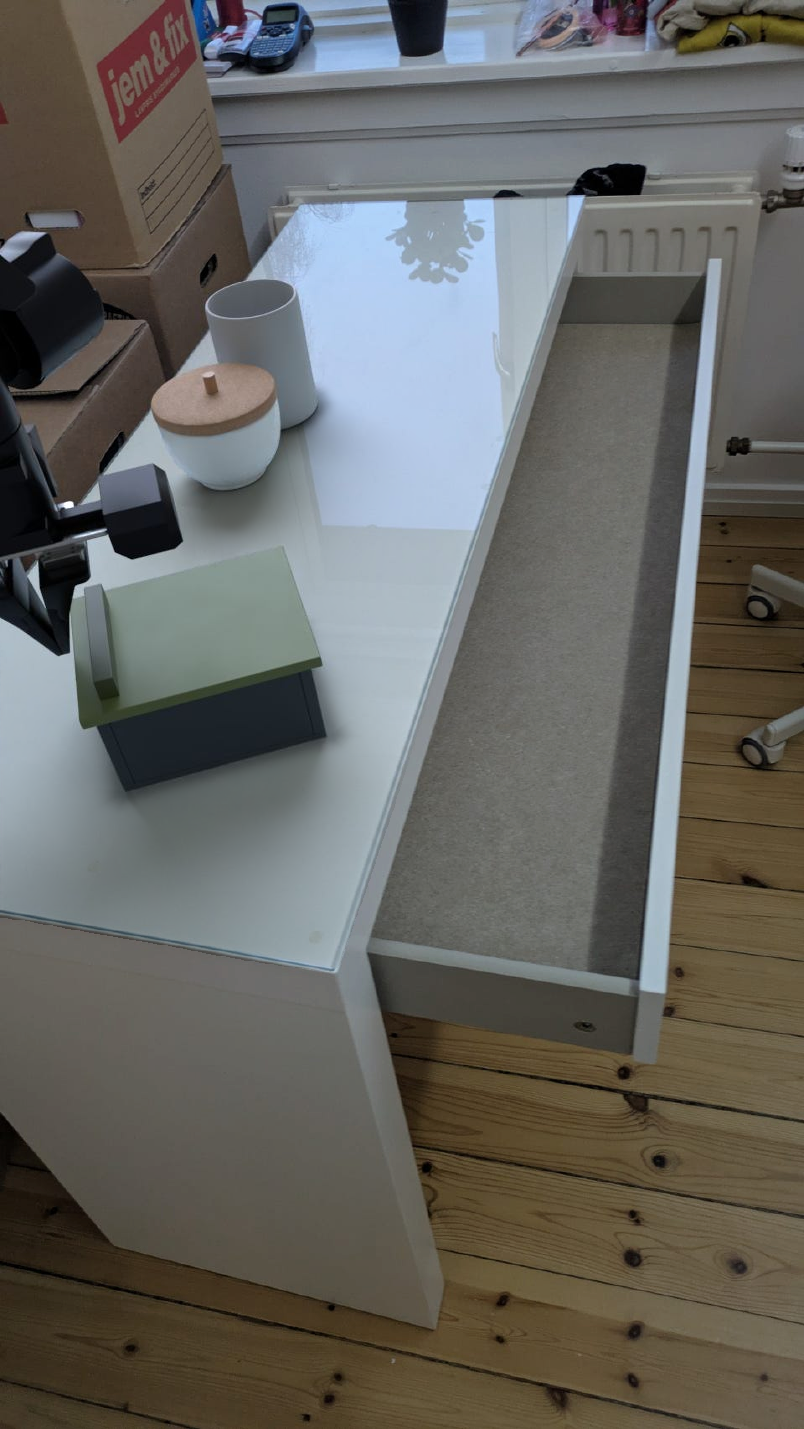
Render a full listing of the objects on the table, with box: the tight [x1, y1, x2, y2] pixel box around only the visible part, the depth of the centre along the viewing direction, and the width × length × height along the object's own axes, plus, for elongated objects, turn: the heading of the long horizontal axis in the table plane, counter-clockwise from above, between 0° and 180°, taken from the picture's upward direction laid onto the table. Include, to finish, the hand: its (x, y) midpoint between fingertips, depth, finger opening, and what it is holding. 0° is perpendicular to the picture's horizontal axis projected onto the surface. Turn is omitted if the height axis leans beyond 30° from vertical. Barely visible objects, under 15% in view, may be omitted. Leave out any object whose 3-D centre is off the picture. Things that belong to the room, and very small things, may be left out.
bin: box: [95, 669, 328, 793], centre depth 74 cm, size 14×12×6 cm
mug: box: [204, 278, 319, 431], centre depth 102 cm, size 12×8×11 cm
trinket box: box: [150, 363, 282, 491], centre depth 95 cm, size 11×11×9 cm
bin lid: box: [70, 545, 323, 730], centre depth 71 cm, size 15×13×2 cm
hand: (63, 650), depth 70 cm, fingers closed
